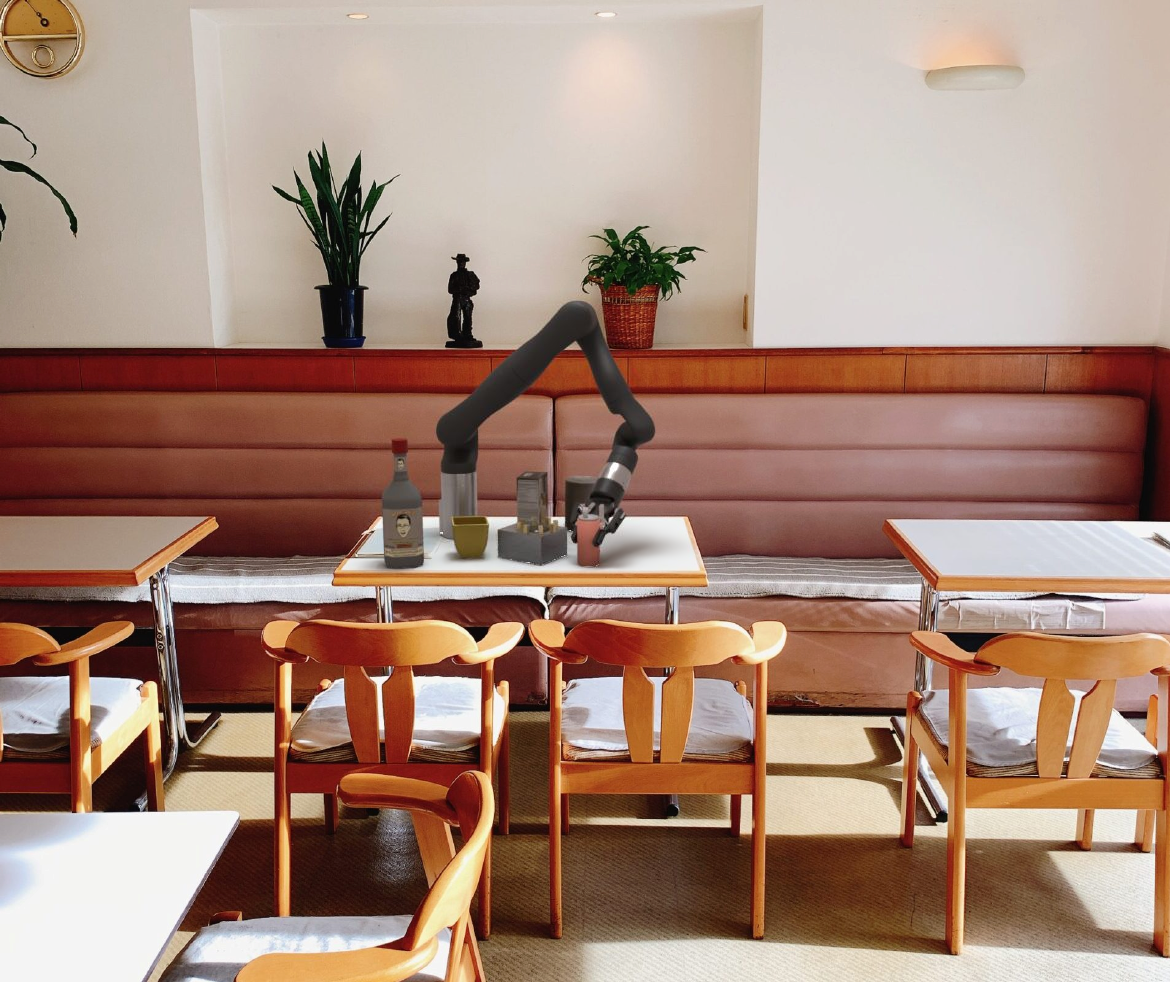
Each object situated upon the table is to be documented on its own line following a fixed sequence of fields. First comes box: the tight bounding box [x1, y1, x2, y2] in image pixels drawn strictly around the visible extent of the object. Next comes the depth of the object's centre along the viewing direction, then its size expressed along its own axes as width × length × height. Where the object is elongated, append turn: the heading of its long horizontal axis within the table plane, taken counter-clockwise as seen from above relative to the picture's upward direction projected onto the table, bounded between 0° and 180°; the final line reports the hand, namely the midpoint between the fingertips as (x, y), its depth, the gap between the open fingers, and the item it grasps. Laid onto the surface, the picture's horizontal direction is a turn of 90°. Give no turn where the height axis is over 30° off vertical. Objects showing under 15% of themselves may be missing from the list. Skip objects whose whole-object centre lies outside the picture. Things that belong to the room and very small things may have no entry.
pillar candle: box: [564, 474, 598, 531], centre depth 281 cm, size 10×10×15 cm
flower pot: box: [451, 515, 490, 559], centre depth 255 cm, size 9×9×9 cm
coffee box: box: [516, 471, 549, 524], centre depth 276 cm, size 9×6×16 cm
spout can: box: [576, 507, 601, 567], centre depth 248 cm, size 5×5×14 cm
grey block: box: [497, 516, 568, 566], centre depth 255 cm, size 16×11×9 cm
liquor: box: [381, 437, 425, 570], centre depth 246 cm, size 9×9×30 cm
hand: (584, 543), depth 247 cm, fingers closed on spout can, 5 cm apart
